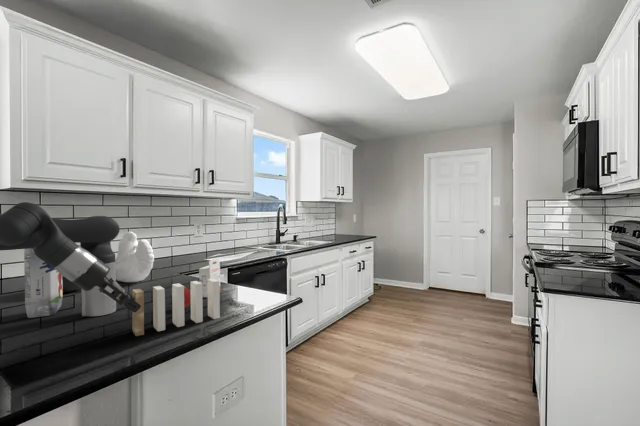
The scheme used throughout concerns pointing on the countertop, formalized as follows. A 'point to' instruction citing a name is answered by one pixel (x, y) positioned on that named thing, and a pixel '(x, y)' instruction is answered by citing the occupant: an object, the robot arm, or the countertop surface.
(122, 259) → the decorative rooster
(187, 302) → the onion
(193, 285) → the domino
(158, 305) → the domino
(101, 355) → the countertop surface
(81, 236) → the robot arm
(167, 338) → the countertop surface
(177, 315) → the domino
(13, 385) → the countertop surface
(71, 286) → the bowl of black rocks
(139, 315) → the maple tile
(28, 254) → the juice carton
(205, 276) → the ink cartridge box
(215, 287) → the domino
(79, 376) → the countertop surface
